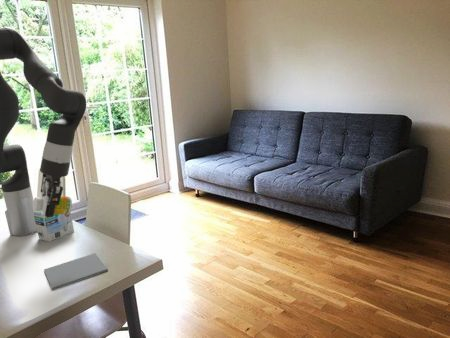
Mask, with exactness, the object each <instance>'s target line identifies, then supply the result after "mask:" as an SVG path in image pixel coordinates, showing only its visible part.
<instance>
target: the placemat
mask: <svg viewBox="0 0 450 338" xmlns="http://www.w3.org/2000/svg"><path fill="white" fill-rule="evenodd" d="M108 271H109V270H108V268H107V266H106V265H105V263H104V262H103V261H102V260H101V259H100V257H99V256H98V255H97V254H96V253H95V252H94V253H91V254H87V255H85V256H81V257H78V258H75V259H72V260H70V261H66V262H62V263H60V264H57V265H54V266H51V267H47V268H44V269H43V272H44V274H45V276H46V278H47V281H48V283H49V286H50V287H51V290H52V291H53V290H56V289H59V288H62V287H64V286H67V285H70V284H73V283H74V284H75V283H77V282H79V281H81V280H85V279H87V278H91V277H94V276H96V275H99V274H103V273H105V272H108Z"/></svg>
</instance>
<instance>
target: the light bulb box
mask: <svg viewBox="0 0 450 338" xmlns="http://www.w3.org/2000/svg"><path fill="white" fill-rule="evenodd" d="M71 211H72V210H71ZM71 211H70V213H69V214H54V216H53V217H46V216H45V214H43V213H42V212H41V211H33V213H34V218H35V223H36V227H37V231H36V232H37V235H38V239H39V240H42V241H45V242H48V243H49V242H52V241H54V240H56V239H59V238H61V237H63V236H66V235H68V234H71V233H73V232H74V231H75V228H74V223H73V218H72V213H71Z"/></svg>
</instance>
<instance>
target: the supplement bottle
mask: <svg viewBox="0 0 450 338" xmlns="http://www.w3.org/2000/svg"><path fill="white" fill-rule="evenodd" d="M54 199H55V198H53V200H52V201H54ZM33 200H34V201H33V211H41V212H42V213H43V214H45V211H46V206H47V196H44V197H43V198H42V197H38V196H37V197H33ZM72 207H73V201H72V198H71V196H62V195H61V198H60V202H59V205H55V210H54V214H69V213H70V211H72Z"/></svg>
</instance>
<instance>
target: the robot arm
mask: <svg viewBox="0 0 450 338" xmlns="http://www.w3.org/2000/svg"><path fill="white" fill-rule="evenodd" d="M14 59H17V60H20V61H21V62H22V63H23V69H22V70H23V76H24V78H25V79H26V82H27V83H28V84H29V85H30V86H31V87H32V88H33V89H34V90H35V91H36V92H38V93H39V95H40V96H41V98H42V100H43V102H44V104H45V105H46V107H47V108H48V109H49V110H51V112H54V113H56V114H60V115H61V117H60V118H59V119H57V120H54V121H51V122H50V123H49V126H48V129H47V136H46V141H45V143H44V147H43V150H42V157H41V161H40V162H41V164H40V166H39V167H40V168H39V170H40V173H42V179H41V187H40V193H41V199H42V198H43V197H44V196H47V206H46V211H45V216H46V217H53V216H54V210H55V205H59V202H60V198H61V196H62V194H63V190H64V187H63V186H62V181H61V178H63V177H67V176H68V175H69V173H70V172H69V170H70V166H71V162H72V161H71V160H72V156H73V145H74V141H75V136H76V135H75V134H76V131H77V129H78V127H79V125H80V123H81V121H82V119H83V117H84V115H85V113H86V109H87V100H86V97H85V95H84V94H83V93H82V92H81V91H78V90H75V89H69V88H64V87H63V86H64V85H63V82H62V80H61V79H60V78H59V76H58V75H57V74H56V73H54V72H53V71H52V70H51V69H50V68H49V67H48V66H47V65H46V64H45V63H44V62H42V60H41V59H40V58H39V57H38V55H37V54H36V53H35V51H34V50H33V49H32V47H31V46H30V44H28V42H27V41H26V39H25V38H24V37H23V35H21V34H20V33H19V31H17V30H16V29H15V28H13V27H4V26H3V27H0V60H1V61H3V60H14ZM5 79H6V78H4V76H3V75H2V73H1V71H0V174H5V173H9V172H13V171H14V173H13V174H12V176H11V177H9V178H8V179H6V180H5V181H3V182H1V186H0V187H1V190H2V195H3V200H4V203H5V207H6V210H5V211H4V214H5V218H6V223H7V226H8V227H7V228H8V231H9V235H10V236H14V237H22V236H27V235H31V234H35V233H36V232H37V227H36V223H35V218H34V213H33V201H34V196H33V192H32V187H31V182H30V175H29V169H28V163H27V157H26V156H27V155H26V153H25V150H24V148H23V147H22V145H20V144H10V145H5V141H6V139H7V137H8V135H9V134H10V133H11V131H12V129H13V128H14V127H15V125H16V123H17V122H18V119H19V117H20V105H19V104H20V102H19V96H18V94H17V93H16V91H15V90H14V89H13V87H12V86H11V85H10V84H9V83H8V82H7V81H6V80H5ZM4 145H5V146H4ZM53 198H55V199H54V201H52V200H53Z"/></svg>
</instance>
